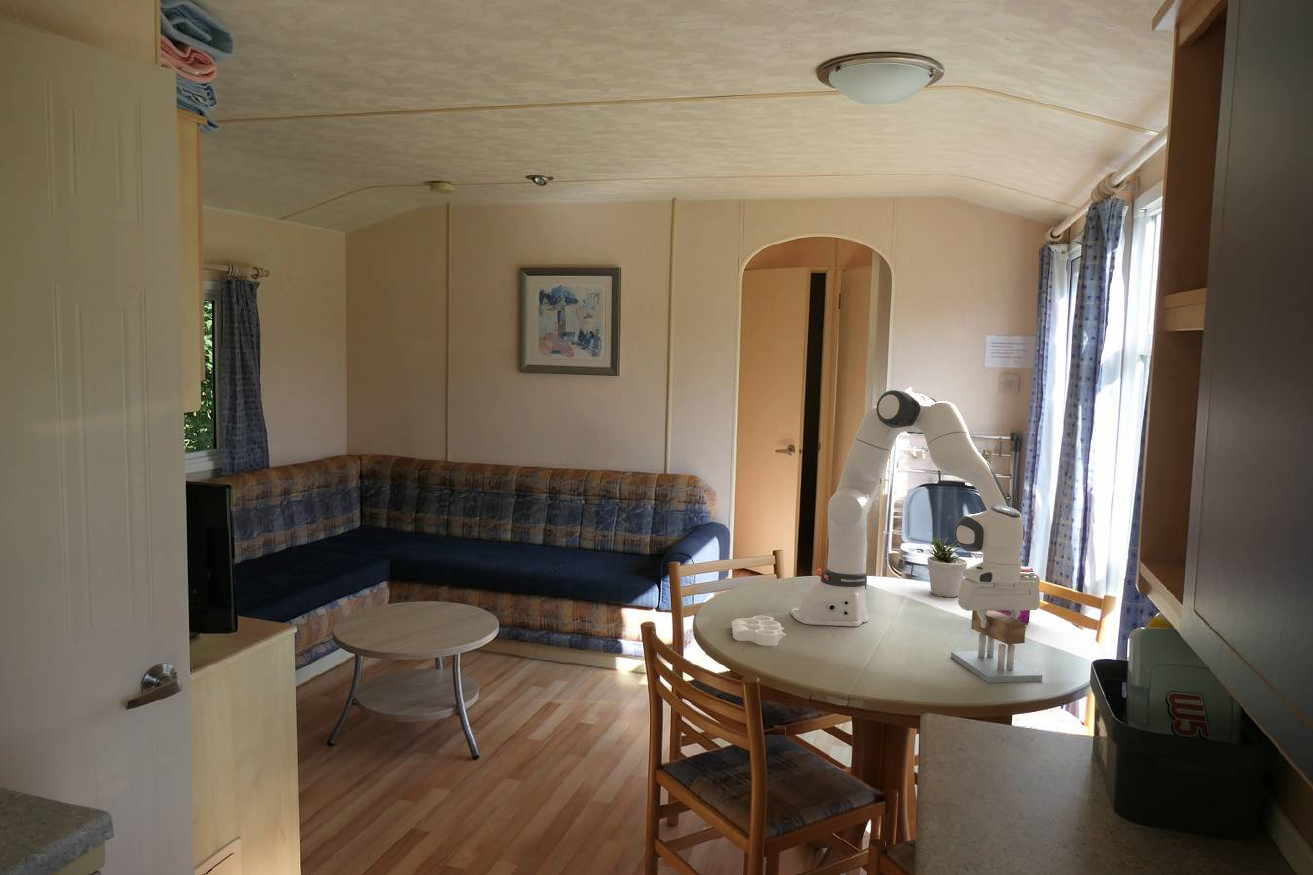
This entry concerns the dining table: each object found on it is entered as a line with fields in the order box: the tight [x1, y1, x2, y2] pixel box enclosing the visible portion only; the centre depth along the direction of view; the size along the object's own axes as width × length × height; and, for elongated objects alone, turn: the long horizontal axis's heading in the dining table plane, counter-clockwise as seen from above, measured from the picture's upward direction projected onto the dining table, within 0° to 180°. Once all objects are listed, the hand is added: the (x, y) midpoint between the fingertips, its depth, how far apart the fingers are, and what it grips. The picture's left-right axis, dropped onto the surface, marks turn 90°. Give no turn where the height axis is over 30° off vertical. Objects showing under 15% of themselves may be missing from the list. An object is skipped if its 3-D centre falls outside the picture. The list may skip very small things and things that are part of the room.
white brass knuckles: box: [730, 615, 788, 647], centre depth 238 cm, size 3×18×15 cm
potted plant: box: [927, 532, 968, 598], centre depth 288 cm, size 13×14×20 cm
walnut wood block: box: [971, 611, 1027, 646], centre depth 216 cm, size 13×5×5 cm, turn 20°
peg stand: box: [950, 632, 1043, 684], centre depth 216 cm, size 14×18×8 cm
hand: (997, 627), depth 216 cm, fingers closed on walnut wood block, 5 cm apart
